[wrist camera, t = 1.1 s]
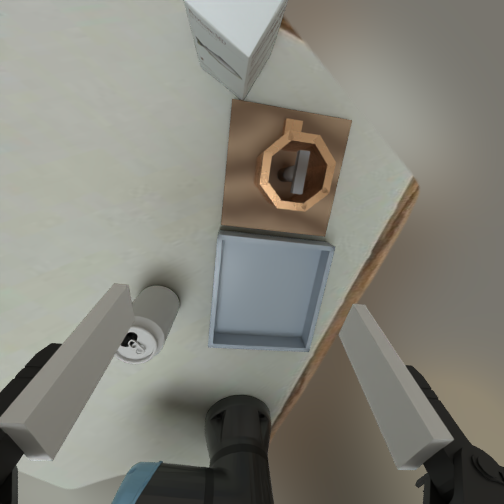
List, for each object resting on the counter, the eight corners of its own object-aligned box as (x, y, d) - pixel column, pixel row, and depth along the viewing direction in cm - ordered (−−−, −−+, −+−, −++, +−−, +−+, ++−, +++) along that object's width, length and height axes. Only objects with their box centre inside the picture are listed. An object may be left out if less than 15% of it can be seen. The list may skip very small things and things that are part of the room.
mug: (305, 207, 37) (324, 214, 29) (251, 200, 35) (256, 205, 28) (321, 127, 33) (347, 111, 25) (262, 117, 32) (271, 97, 24)
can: (158, 275, 40) (128, 313, 28) (189, 301, 42) (172, 347, 30) (130, 301, 41) (90, 347, 29) (161, 325, 43) (135, 377, 31)
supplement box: (199, 67, 31) (178, -5, 19) (228, 14, 29) (225, -102, 17) (242, 104, 33) (248, 59, 21) (272, 55, 31) (297, -24, 19)
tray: (303, 339, 47) (308, 351, 43) (209, 334, 44) (208, 347, 41) (326, 241, 40) (335, 247, 37) (219, 229, 38) (217, 234, 35)
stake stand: (321, 234, 40) (352, 253, 29) (221, 223, 38) (217, 239, 27) (347, 122, 35) (396, 98, 24) (232, 102, 32) (232, 65, 22)
